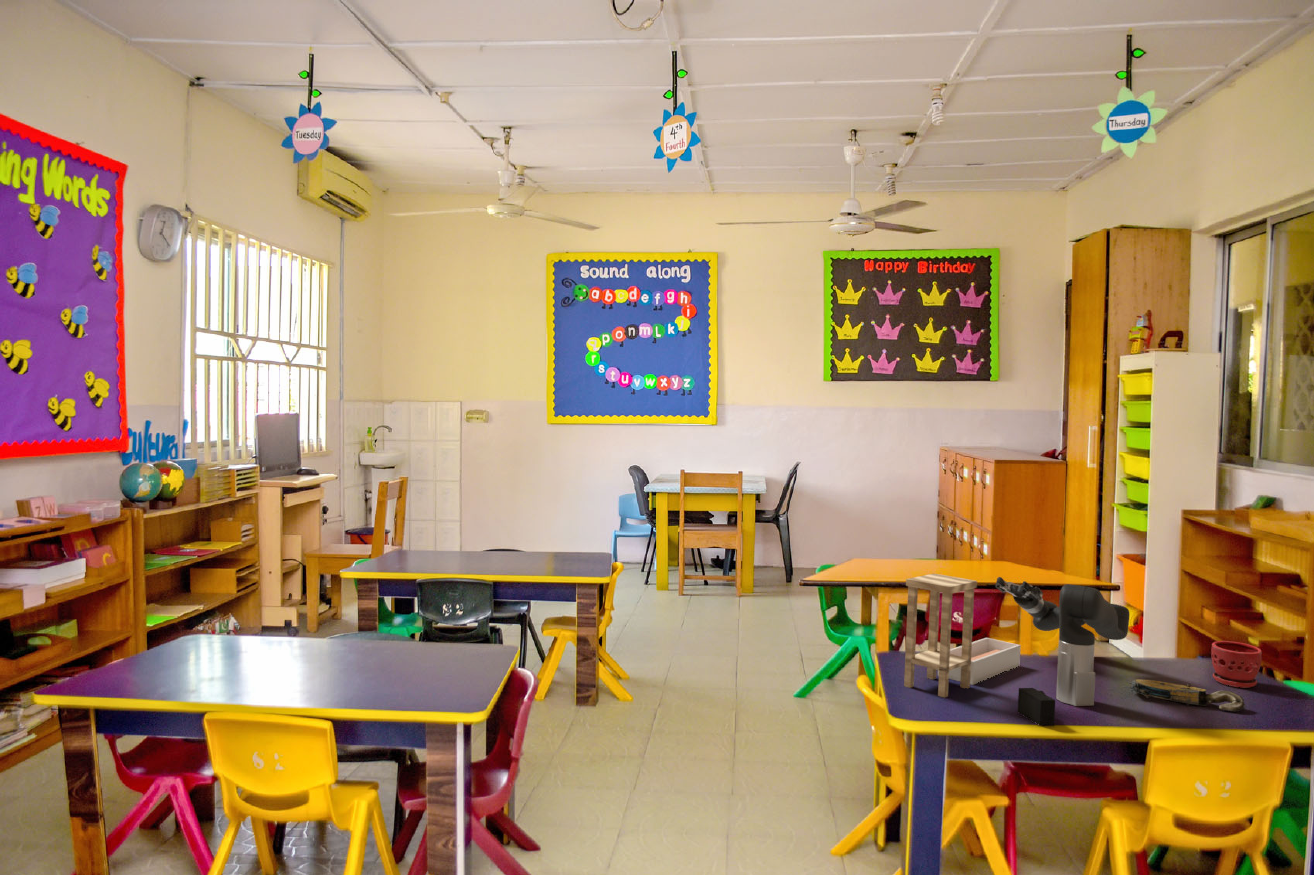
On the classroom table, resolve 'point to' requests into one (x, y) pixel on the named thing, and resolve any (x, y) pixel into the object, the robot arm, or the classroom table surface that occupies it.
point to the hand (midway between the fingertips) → (1011, 581)
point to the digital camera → (1036, 706)
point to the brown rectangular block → (985, 654)
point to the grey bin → (988, 659)
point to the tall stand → (943, 657)
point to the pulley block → (1187, 694)
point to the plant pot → (1235, 663)
